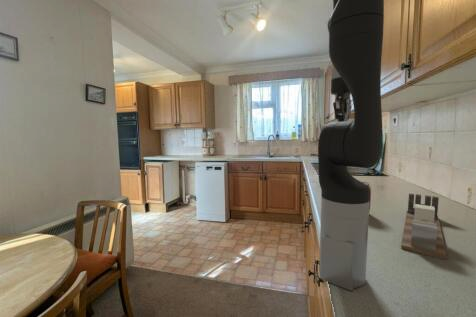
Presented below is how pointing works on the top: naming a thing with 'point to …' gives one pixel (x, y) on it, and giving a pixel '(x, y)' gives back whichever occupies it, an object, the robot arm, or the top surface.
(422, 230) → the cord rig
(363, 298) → the top surface
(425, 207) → the sleeve
